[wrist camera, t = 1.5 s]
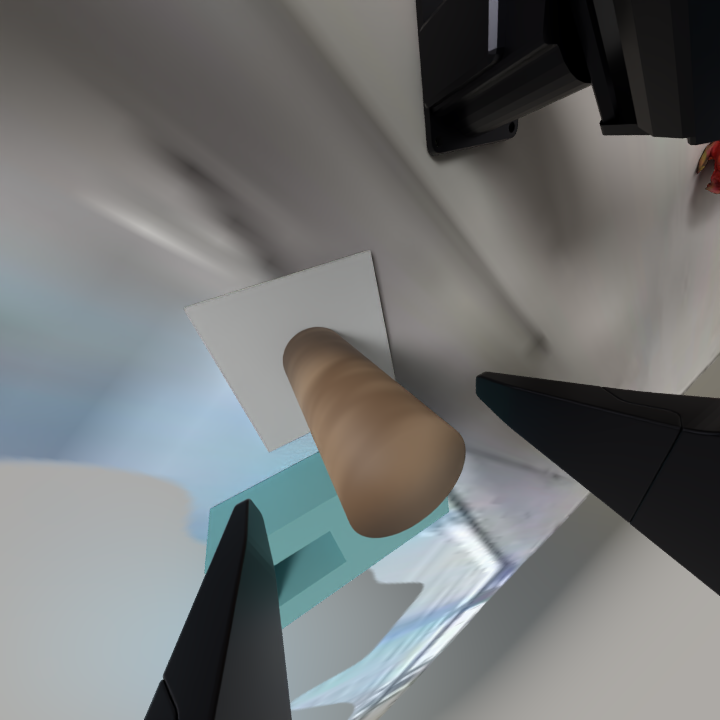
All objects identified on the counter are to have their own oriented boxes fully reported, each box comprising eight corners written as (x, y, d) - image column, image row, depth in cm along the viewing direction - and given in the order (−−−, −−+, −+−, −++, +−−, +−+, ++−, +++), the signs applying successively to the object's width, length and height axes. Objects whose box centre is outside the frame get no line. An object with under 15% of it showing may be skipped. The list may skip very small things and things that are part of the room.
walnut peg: (336, 317, 15) (463, 400, 7) (352, 372, 17) (466, 489, 9) (271, 341, 14) (328, 477, 6) (296, 397, 16) (365, 559, 8)
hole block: (408, 404, 21) (441, 433, 18) (421, 478, 26) (448, 511, 23) (209, 509, 17) (204, 572, 14) (269, 574, 22) (276, 633, 18)
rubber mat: (366, 250, 15) (370, 250, 15) (393, 385, 20) (397, 388, 19) (185, 307, 12) (183, 309, 12) (268, 447, 17) (269, 452, 17)
